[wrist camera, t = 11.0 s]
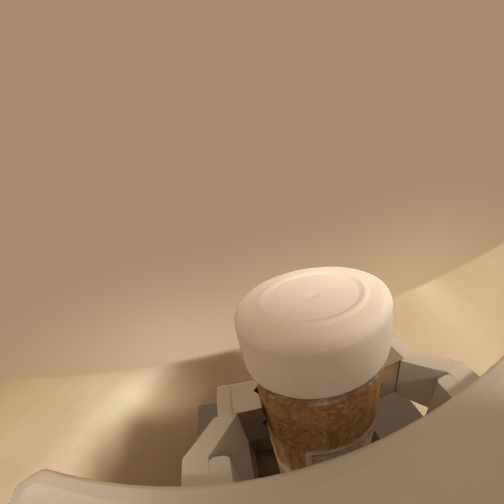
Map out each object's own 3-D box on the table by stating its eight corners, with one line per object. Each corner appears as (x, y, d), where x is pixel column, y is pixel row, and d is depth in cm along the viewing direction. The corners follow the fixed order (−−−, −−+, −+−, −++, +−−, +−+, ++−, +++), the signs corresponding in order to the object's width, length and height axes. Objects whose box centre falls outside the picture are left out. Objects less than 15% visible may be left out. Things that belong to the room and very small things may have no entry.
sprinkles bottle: (279, 466, 13) (227, 281, 9) (346, 446, 13) (348, 252, 10) (293, 521, 9) (237, 364, 5) (371, 496, 9) (429, 302, 5)
